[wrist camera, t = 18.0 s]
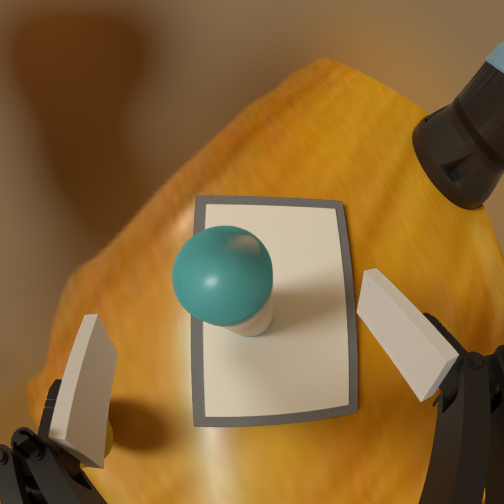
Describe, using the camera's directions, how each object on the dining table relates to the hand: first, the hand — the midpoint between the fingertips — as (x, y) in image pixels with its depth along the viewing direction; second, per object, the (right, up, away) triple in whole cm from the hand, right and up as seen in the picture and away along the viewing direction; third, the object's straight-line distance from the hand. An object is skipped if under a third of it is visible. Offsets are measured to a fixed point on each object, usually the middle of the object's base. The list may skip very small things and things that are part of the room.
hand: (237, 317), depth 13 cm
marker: (+1, -2, +9) cm, 9 cm away
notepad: (+3, -2, +10) cm, 11 cm away
